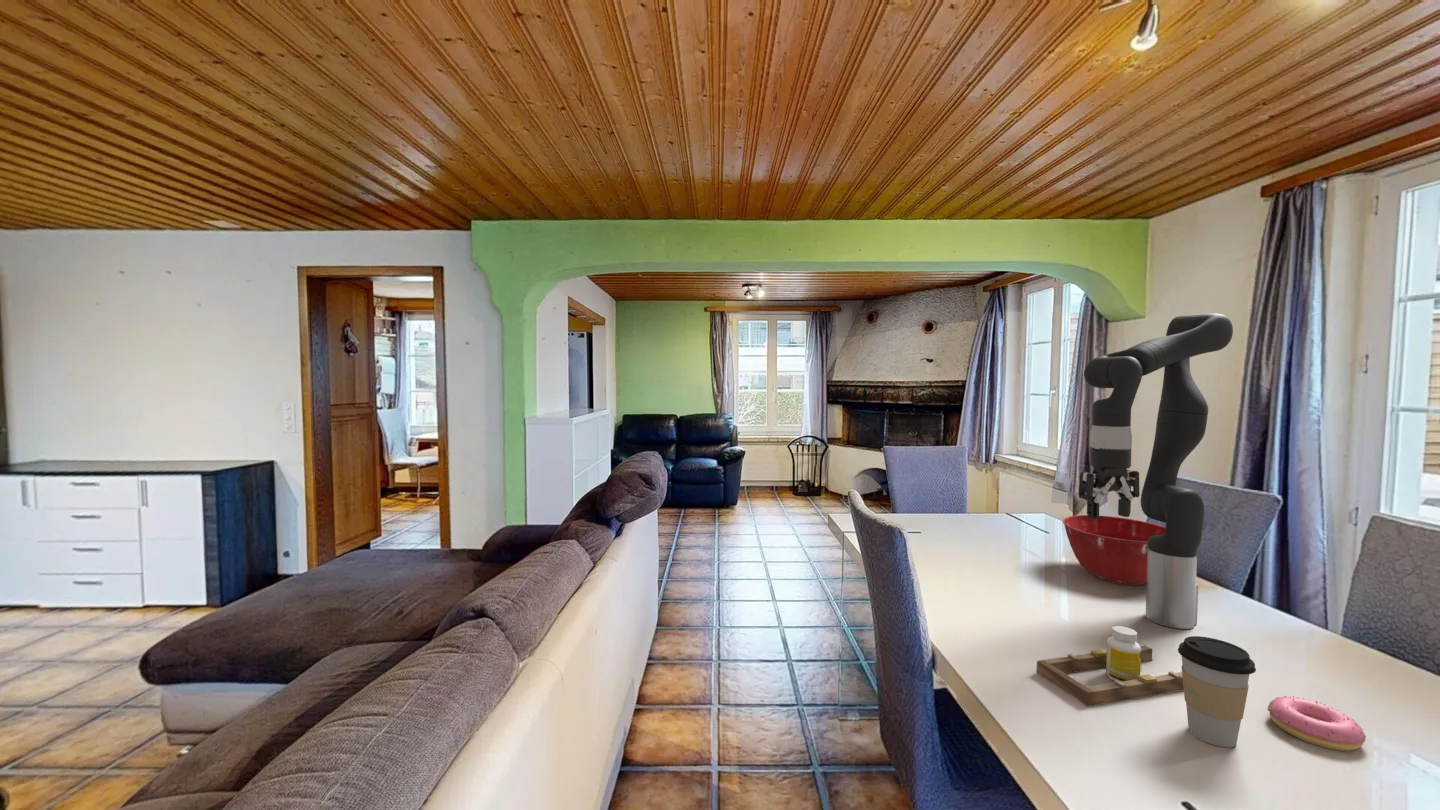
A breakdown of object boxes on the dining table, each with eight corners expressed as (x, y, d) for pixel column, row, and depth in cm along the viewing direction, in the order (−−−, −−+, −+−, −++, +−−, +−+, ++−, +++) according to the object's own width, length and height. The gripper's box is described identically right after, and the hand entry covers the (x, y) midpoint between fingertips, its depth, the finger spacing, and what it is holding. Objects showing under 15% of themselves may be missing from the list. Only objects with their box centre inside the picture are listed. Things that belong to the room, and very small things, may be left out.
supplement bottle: (1146, 687, 103) (1147, 637, 102) (1114, 684, 104) (1115, 635, 104) (1130, 673, 108) (1132, 625, 108) (1100, 670, 109) (1101, 622, 109)
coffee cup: (1160, 719, 93) (1163, 635, 93) (1210, 716, 94) (1213, 632, 93) (1215, 757, 84) (1218, 663, 83) (1270, 754, 85) (1273, 660, 84)
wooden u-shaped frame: (1144, 656, 115) (1145, 642, 114) (1204, 686, 103) (1205, 670, 103) (1036, 672, 108) (1036, 657, 108) (1087, 706, 97) (1088, 689, 97)
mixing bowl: (1207, 596, 147) (1209, 540, 147) (1102, 595, 148) (1104, 540, 147) (1130, 561, 176) (1131, 515, 175) (1042, 561, 176) (1043, 514, 175)
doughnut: (1383, 750, 86) (1385, 725, 85) (1333, 761, 83) (1334, 735, 83) (1297, 710, 96) (1298, 687, 96) (1250, 718, 94) (1251, 695, 94)
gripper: (1120, 443, 126) (1118, 511, 126) (1069, 444, 123) (1068, 515, 123) (1152, 446, 119) (1150, 519, 119) (1100, 448, 115) (1098, 523, 116)
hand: (1108, 517), depth 121 cm, fingers open, 8 cm apart
